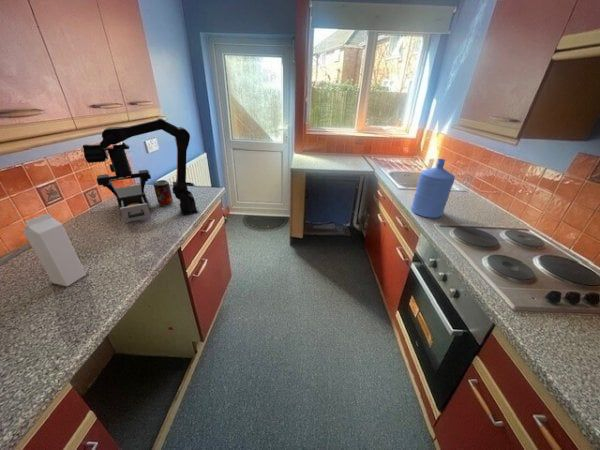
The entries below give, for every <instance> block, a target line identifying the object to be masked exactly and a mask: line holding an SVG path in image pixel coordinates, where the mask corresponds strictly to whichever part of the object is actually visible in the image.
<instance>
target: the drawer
mask: <svg viewBox="0 0 600 450" xmlns="http://www.w3.org/2000/svg"><path fill="white" fill-rule="evenodd" d="M133 203H139V205H133V206H128V205H129V204H133ZM121 205H122V208H120V207H119V210H120V213H121V216H122V219H123V222H124V223H129V222H134V221H139V220H145V219H149V218H151V217H152V216H151V212H150V210H149V209H150V207H149V208H148V206H149V204H148V205H147V203H145V201H144V199H143V196H138V197H132V198H126V199H121Z"/></svg>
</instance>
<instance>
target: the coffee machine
mask: <svg viewBox="0 0 600 450" xmlns="http://www.w3.org/2000/svg"><path fill="white" fill-rule="evenodd" d="M114 188H115V190H116V192H117V194H118V197H119V198H117V197H116V196H115V197H116V201H117V204H118V207H119V209H120V208H122V205H121V199H126V198H132V197H138V196H143V199H144V201H145V203H147V205H148V208H149V211H150V206H149V202H148V199H147V196H146V195H147V194H146V192H145V191H144V193H143V195H142V191H141V185H140V184H136V185H129V186H122V187H114Z"/></svg>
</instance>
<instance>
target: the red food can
mask: <svg viewBox="0 0 600 450" xmlns="http://www.w3.org/2000/svg"><path fill="white" fill-rule="evenodd" d="M152 185H153V187H154V192H155V196H156V200H157V203H158V204H159V205H160V206H161V207H167V206H168V207H169V206H171V205H172V204H173V195H172V189H171V187H170V182H169V181H167V180H165V179H160V180H156V181H154V182H153V184H152Z"/></svg>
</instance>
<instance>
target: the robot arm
mask: <svg viewBox="0 0 600 450" xmlns="http://www.w3.org/2000/svg"><path fill="white" fill-rule="evenodd" d="M156 131H163V132H165V133H166V134H169V135H170V136H172V137H174V140H175V141H174V142H175V146H176V179H175V181H172V189H171V191H172V193H173V195H174V196H175V198H176V199H177V200H179V203H178V205H179V210H180V212H181V214H183V215H184V216H187V215H191V214H197V213H198V209H197V205H196V200H195V197H194V195H193V193H192V191H190V190H188V185H187V152H188V148H189V145H190V141H191V135H190V133H189V132H188V130H187V129H186V128H185V127H182V126H180V127H178V126H176V125H174V124H172V123H170V122H168V121H166V120H164V119H163V118H157V119H154V120H149V121H146V122H145V121H144V122H142V123H137V124H132V125H127V126H109V127H106V128H105V129H104V130H103V131H102V133H101V138H102V140H101V141H100V142H99V144H83V145H82V149H83V157H84V159H85V161H86V163H87V164H94V163H106V162H107V160H109V159H110V162H111V164H108V165H109V169H110V172H111V173H114V174H115V175H111V176H110V175H109V174H108V173H107V174H98V175H97V176H96V183H97V185H98V186H102V187H103V188H106V189H108V190H109V191H110V192H111V193H112V194H113V195H114V196H115V197H117V198H119V197H118V194H117V192H116V190H115V188H116V187H115V185H114V184H113V182H115V181H122V180H123V181H125V180H129V179H131V180H132V179H139V185H141V191H142V195H143V193H144V192H145V186H146V183H147V182H149V180H151V179H152V176H151V172H150V170H148V169H142V170H141V169H140V170H138V172H136V173H133V171H132V168H131V166H130V163H129V159H128V155H127V153H126V150H129V149H130V145H128V144H126V142H124V141H126V140H129V139H130V138H132V137H137V136H141V135H144V134H149V133H152V132H156ZM120 143H121V144H120ZM117 198H116V199H117Z"/></svg>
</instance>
